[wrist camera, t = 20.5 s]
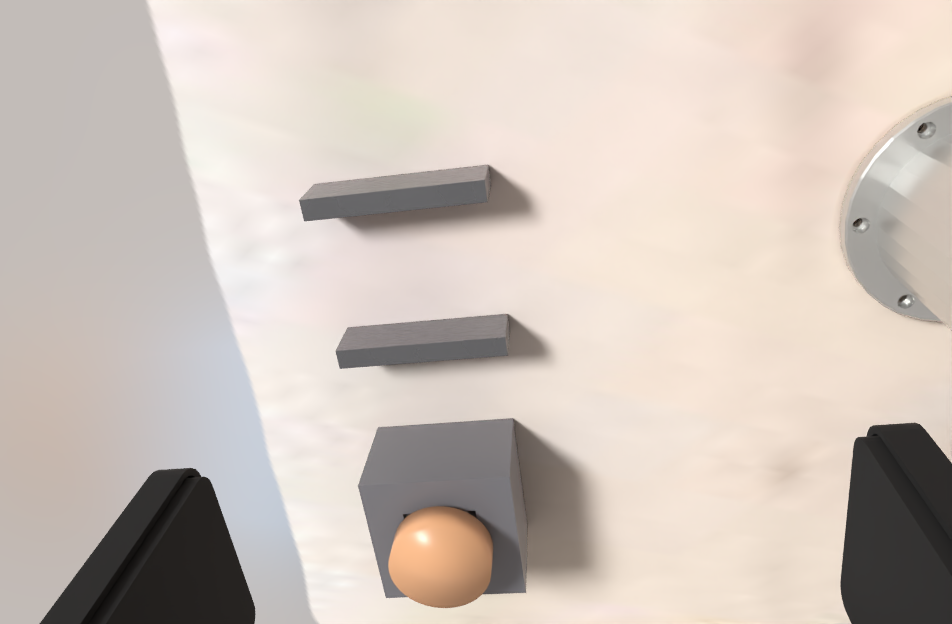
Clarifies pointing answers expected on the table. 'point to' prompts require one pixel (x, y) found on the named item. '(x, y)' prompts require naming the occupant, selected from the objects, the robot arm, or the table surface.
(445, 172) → the housing rails
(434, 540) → the peach rounded piece
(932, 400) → the table surface
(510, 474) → the box
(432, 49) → the table surface
